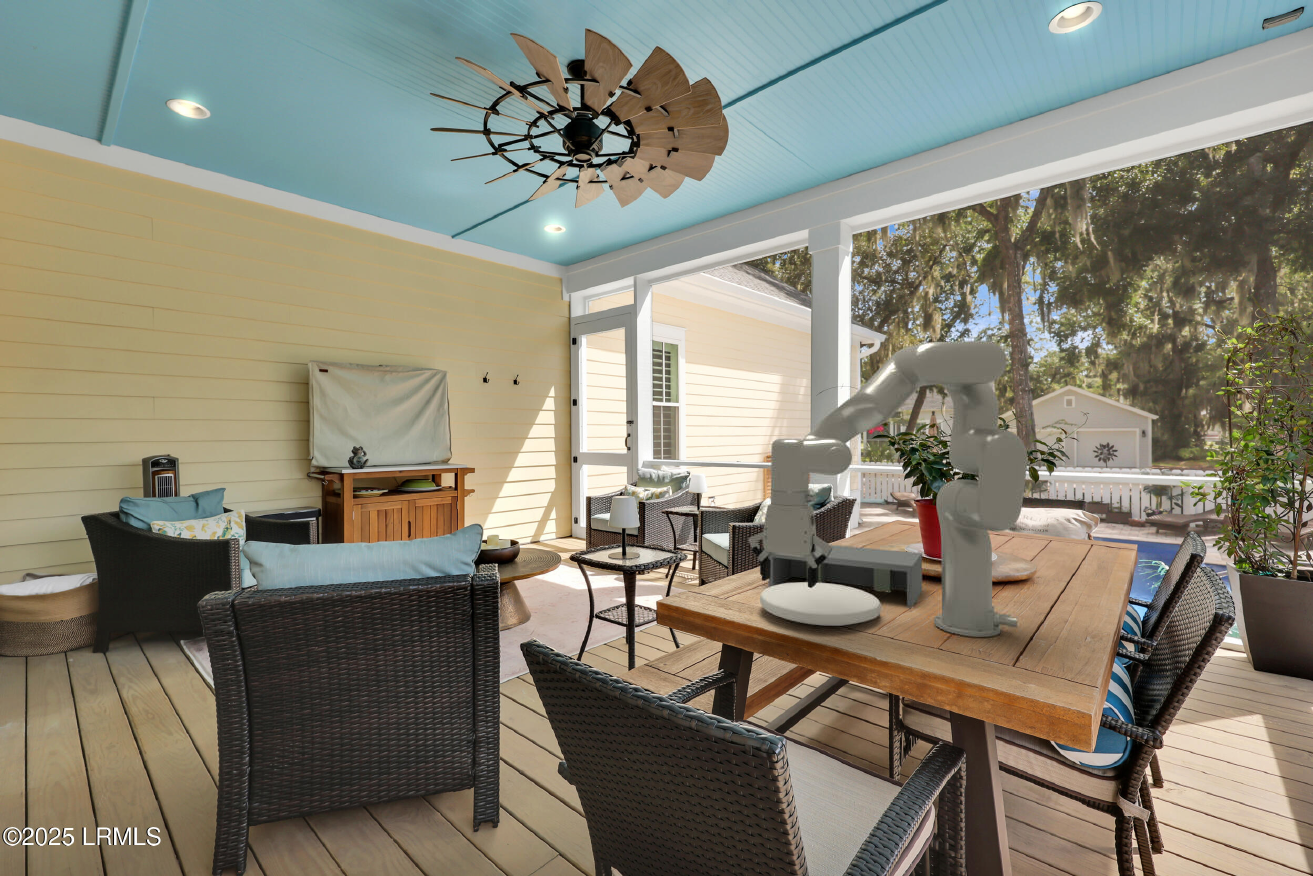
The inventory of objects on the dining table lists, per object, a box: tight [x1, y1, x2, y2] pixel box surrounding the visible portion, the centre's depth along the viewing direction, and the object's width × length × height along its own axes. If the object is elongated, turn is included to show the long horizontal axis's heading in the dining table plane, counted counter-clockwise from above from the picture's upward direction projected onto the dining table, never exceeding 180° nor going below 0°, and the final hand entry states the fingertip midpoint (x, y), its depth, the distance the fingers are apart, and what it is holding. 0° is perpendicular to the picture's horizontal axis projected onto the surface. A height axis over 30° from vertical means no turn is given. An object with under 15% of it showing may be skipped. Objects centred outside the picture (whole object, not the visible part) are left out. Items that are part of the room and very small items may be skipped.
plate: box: [759, 581, 882, 627], centre depth 136 cm, size 28×6×27 cm
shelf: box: [768, 544, 923, 608], centre depth 155 cm, size 36×16×10 cm, turn 58°
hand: (788, 582), depth 119 cm, fingers open, 9 cm apart
